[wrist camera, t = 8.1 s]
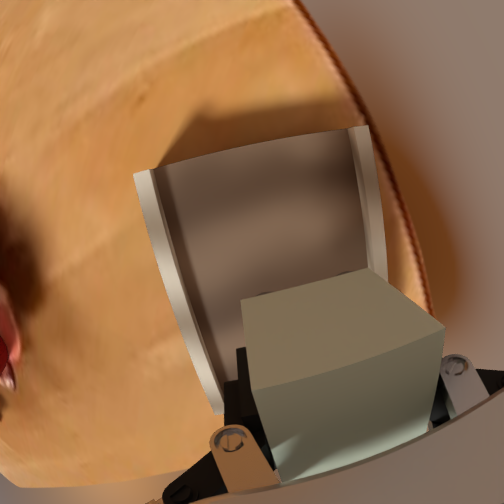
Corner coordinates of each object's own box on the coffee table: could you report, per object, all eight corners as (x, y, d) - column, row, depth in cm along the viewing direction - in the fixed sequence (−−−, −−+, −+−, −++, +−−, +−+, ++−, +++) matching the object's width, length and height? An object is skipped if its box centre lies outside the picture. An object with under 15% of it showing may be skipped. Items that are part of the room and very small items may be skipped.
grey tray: (152, 172, 21) (132, 174, 16) (339, 132, 21) (368, 125, 16) (215, 376, 26) (215, 415, 21) (364, 338, 26) (388, 368, 21)
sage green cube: (236, 290, 12) (247, 391, 6) (360, 259, 12) (448, 326, 6) (269, 411, 14) (289, 509, 8) (366, 384, 14) (416, 467, 8)
